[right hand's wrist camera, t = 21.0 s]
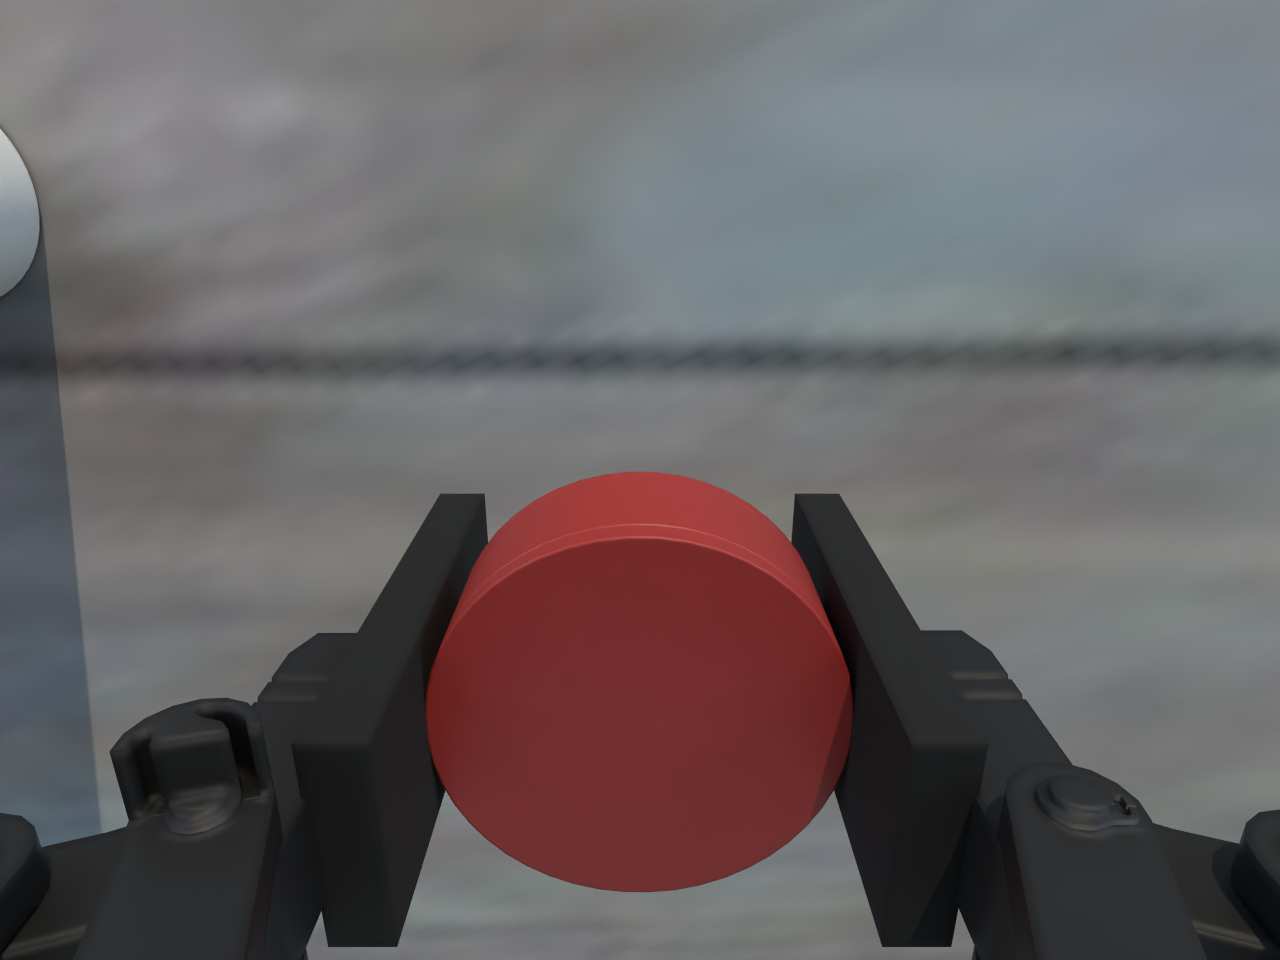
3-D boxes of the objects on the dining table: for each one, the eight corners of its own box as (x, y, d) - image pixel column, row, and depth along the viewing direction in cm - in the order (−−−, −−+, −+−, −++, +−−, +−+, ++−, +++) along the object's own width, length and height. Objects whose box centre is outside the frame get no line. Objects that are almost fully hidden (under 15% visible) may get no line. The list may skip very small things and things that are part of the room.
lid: (401, 533, 12) (351, 610, 10) (768, 421, 11) (796, 478, 9) (533, 817, 14) (515, 931, 12) (854, 734, 13) (894, 839, 11)
